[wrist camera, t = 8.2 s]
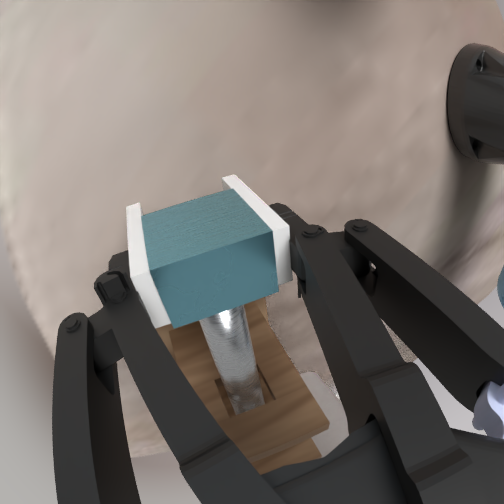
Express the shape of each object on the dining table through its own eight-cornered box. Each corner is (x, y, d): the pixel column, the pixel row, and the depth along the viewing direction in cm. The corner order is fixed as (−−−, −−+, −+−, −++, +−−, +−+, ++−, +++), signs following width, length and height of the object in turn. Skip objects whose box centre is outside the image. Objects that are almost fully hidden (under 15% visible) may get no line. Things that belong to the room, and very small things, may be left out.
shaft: (140, 216, 14) (149, 270, 10) (232, 188, 15) (272, 230, 11) (222, 413, 25) (239, 455, 22) (269, 395, 26) (290, 435, 23)
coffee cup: (301, 358, 37) (364, 454, 25) (338, 368, 43) (394, 445, 31) (253, 403, 39) (301, 495, 27) (295, 407, 45) (340, 482, 33)
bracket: (134, 280, 23) (166, 448, 12) (253, 241, 25) (354, 373, 14) (197, 403, 35) (236, 504, 24) (272, 375, 37) (326, 467, 26)
